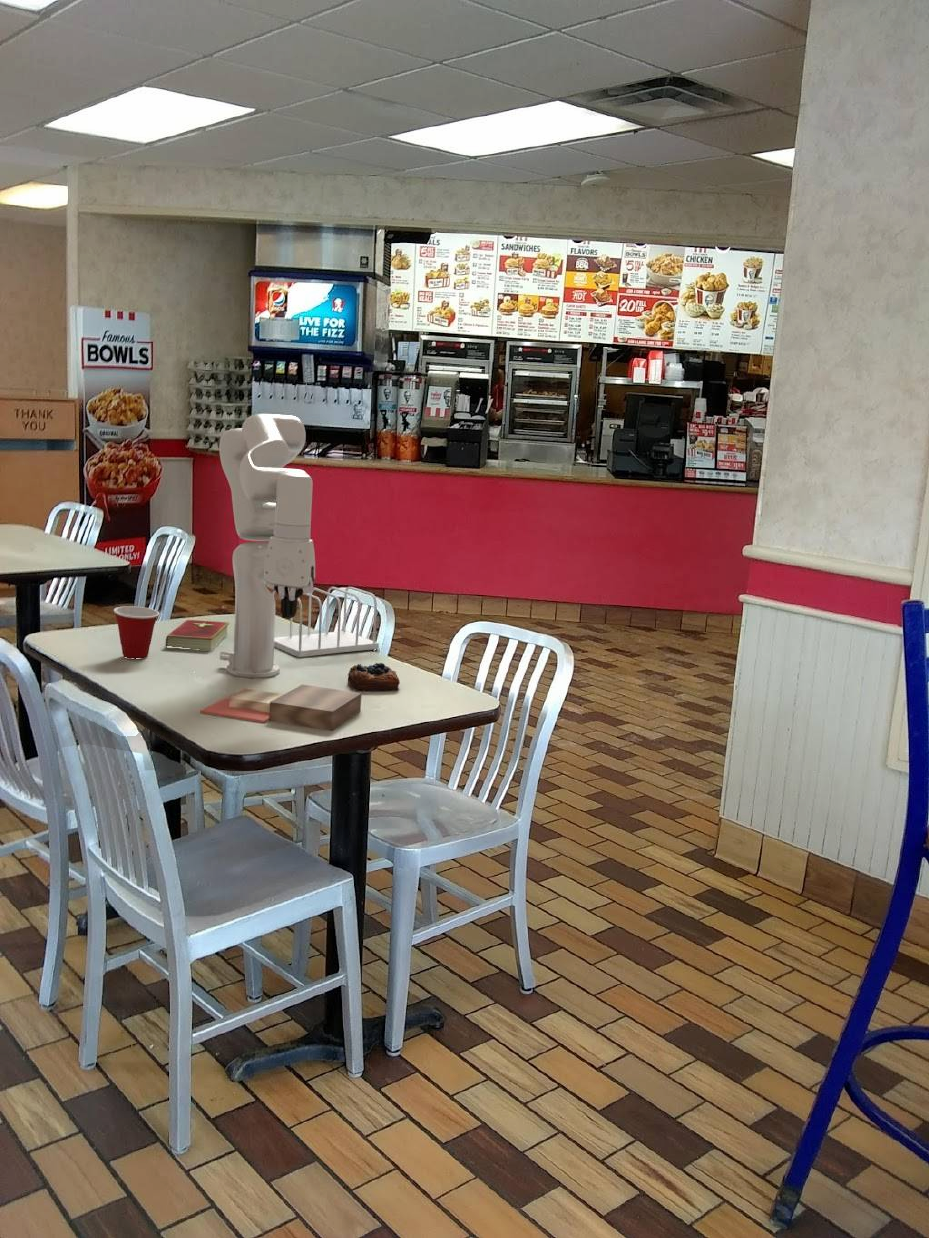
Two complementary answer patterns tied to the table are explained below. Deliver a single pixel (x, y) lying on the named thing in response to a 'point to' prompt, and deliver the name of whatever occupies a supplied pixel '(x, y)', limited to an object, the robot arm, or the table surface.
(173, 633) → the hardcover book
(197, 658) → the table surface
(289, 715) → the square wooden slab
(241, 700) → the light wooden block
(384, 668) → the pastry
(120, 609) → the plastic cup
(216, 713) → the mat
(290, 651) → the file sorter
